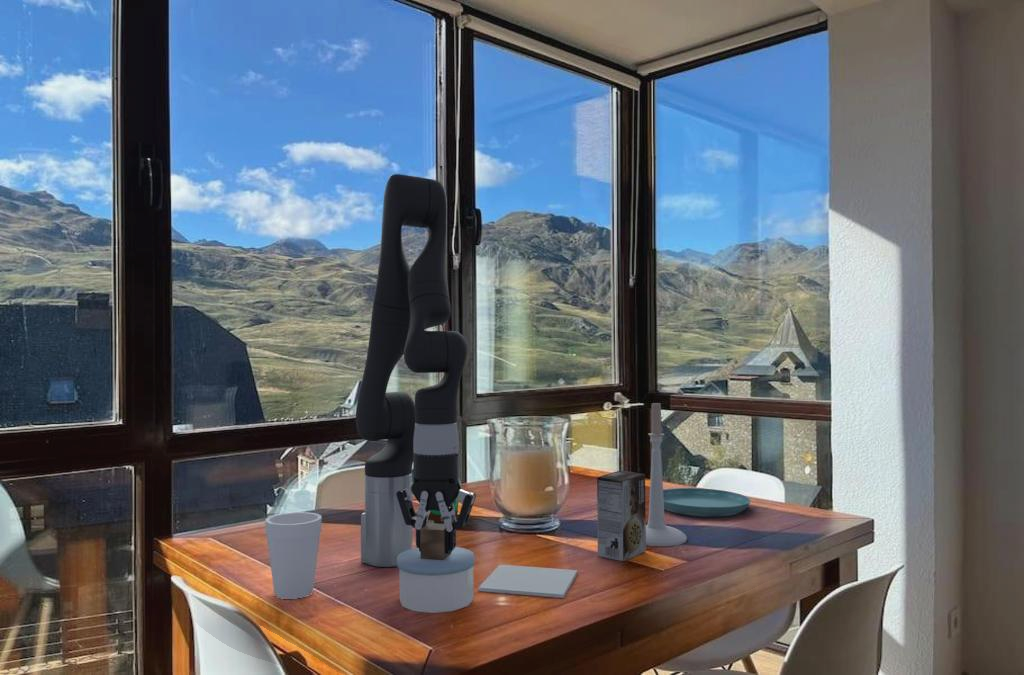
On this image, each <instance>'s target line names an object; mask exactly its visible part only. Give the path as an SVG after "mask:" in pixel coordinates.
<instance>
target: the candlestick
mask: <svg viewBox="0 0 1024 675" xmlns="http://www.w3.org/2000/svg"><path fill="white" fill-rule="evenodd" d="M661 405H662V404H661V403H660V402H659V403H658V402H655V403H654V402H653V403H651V433H647V434H648V437H650V439H649V442H650V443H651V445H652V448H651V461H650V465H651V466H650V480H649V481H650V483H649V504H648V520H647V521H648V522H647V523H646V546H648V547H675V546H679V545H683V544H685V543H686V542H687V540H688V537H687V535H686V533H684V532H683V531H681V530H680V529H677V528H676V527H672V526H669V525H667V524H666V520H665V509H664V499H663V490H664V483H663V467H662V466H663V465H662V463H663V462H662V450H661V444H662V442H663V437H664V436H665V433H662V406H661Z"/></svg>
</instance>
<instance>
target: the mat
mask: <svg viewBox="0 0 1024 675" xmlns="http://www.w3.org/2000/svg"><path fill="white" fill-rule="evenodd" d="M577 575H578V570H577V569H566V568H564V569H563V568H552V567H540V566H539V567H537V566H525V565H523V566H522V565H512V564H499V565H498V566H497V567H496V568H495V569H494V570H493V571H492V572H491V573H490V574H489V575H488V577H487V578H486V579H484V581H483V582H482V583H481V584H480V585H479V586H478V592H486V593H487V592H488V593H498V594H509V595H510V594H511V595H521V596H522V595H523V596H534V597H544V598H545V597H546V598H557V599H564V598H565V596H566V595H567V593H568V591H569V589H570V587H571V586H572V584H573V583H574V581H575V579H576V577H577Z"/></svg>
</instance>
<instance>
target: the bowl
mask: <svg viewBox="0 0 1024 675" xmlns="http://www.w3.org/2000/svg"><path fill="white" fill-rule="evenodd" d="M474 587H475V586H474V566H473V567H471V568H470V569H468V570H465V571H462V572H458V573H454V574H447V575H417V574H411V573H407V572H404V571H402V570H400V569H399V602H400V604H401V607H402V608H405V609H407V610H409V611H412V612H416V613H417V612H419V613H429V614H430V613H431V614H437V613H446V612H455V611H458V610H460V609H463V608H466V607H468V606H469V605H470V604H471V603H472V602H473V601H474V599H475V598H474V595H475V594H474V592H475V591H474Z"/></svg>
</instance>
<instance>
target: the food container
mask: <svg viewBox="0 0 1024 675" xmlns="http://www.w3.org/2000/svg"><path fill="white" fill-rule="evenodd" d="M458 482H459V485H460V487H461V489H462V490H463V485H462V482H461V479H459V478H458ZM459 502H460V497H459V496H458V497H457V498H456V500H455V501H454V502H453V505H454V509H455V518H456V521H457V519H458V516H459V514H458V512H459V511H458V510H459V504H460V503H459ZM428 523H437V524H444V520H443V518H442V516H441V512H440V511H436V510H431V512H430V514H429V516H428V520H427V524H428ZM427 524H426V525H427Z"/></svg>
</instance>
